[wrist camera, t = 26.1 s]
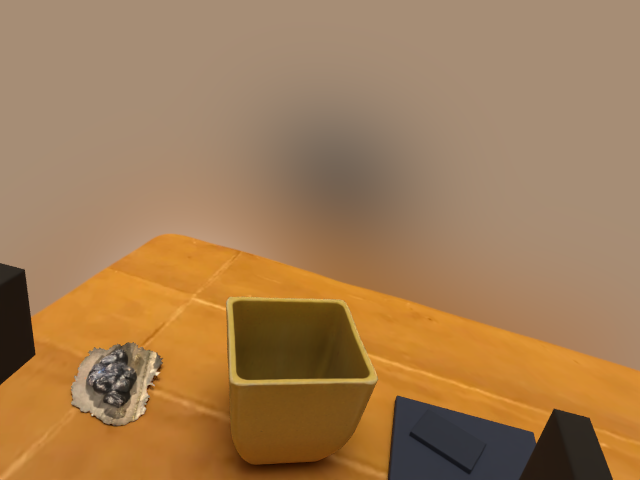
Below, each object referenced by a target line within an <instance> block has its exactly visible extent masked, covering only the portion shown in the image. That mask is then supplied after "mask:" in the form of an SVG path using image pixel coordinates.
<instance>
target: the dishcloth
mask: <svg viewBox="0 0 640 480" xmlns="http://www.w3.org/2000/svg"><path fill="white" fill-rule="evenodd" d="M535 446H536V441H535V437H534V433H533V432H530V431H526V430H522V429H519V428H515V427H511V426H508V425H504V424H500V423H497V422H493V421H489V420H486V419H482V418H478V417H474V416H471V415H467V414H463V413H460V412H456V411H452V410H449V409H445V408H441V407H438V406H434V405H430V404H427V403H423V402H419V401H415V400H412V399H408V398H404V397H401V396H397V397H396V400H395V408H394V419H393V430H392V441H391V452H390V463H389V474H388V480H519V478H520V476H521V474H522V472H523V470H524V468H525V466H526V464H527V462H528V460H529V458H530V456H531V454H532V452H533V450H534V448H535Z"/></svg>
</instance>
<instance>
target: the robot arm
mask: <svg viewBox="0 0 640 480" xmlns="http://www.w3.org/2000/svg"><path fill="white" fill-rule="evenodd" d="M34 355H35V347H34V339H33V331H32V323H31V315H30V307H29V300H28V292H27V284H26V277H25V270H24V269H20V268H17V267H13V266H9V265H5V264H1V263H0V385H1V384H2V383H3V382H4V381H5V380H6V379H8V378H9V377H10V376H11V375H12V374H13V373H15V372H16V371H17V370H18V369H19V368H20V367H22V366H23V365H24V364H25V363H26V362H27V361H29V360H30V359H31V358H32V357H33V356H34ZM519 480H613V478H612V476H611V473H610V470H609V468H608V465H607V463H606V460H605V457H604V455H603V452H602V450H601V447H600V444H599V442H598V439H597V436H596V434H595V431H594V429H593V426H592V423H591V421H590V418H587V417H584V416H580V415H576V414H572V413H568V412H565V411H561V410H557V409H554V410H553V412H552V414H551V416H550V418H549V420H548V422H547V424H546V426H545V428H544V430H543V432H542V434H541V436H540V438H539V440H538V442H537V444H536V446H535V448H534V450H533V452H532V454H531V456H530V458H529V460H528V462H527V464H526V466H525V468H524V470H523V472H522V474H521V476H520V478H519Z"/></svg>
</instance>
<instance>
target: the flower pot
mask: <svg viewBox="0 0 640 480" xmlns="http://www.w3.org/2000/svg"><path fill="white" fill-rule="evenodd" d="M226 311H227V353H228V368H229V396H230V428H231V436H232V440H233V444H234V446H235V448H236V450H237V452H238V453H239V455H240V456H241V457H242V458H243V459H244V460H245V461H247V462H248V463H250V464H253V465H259V464H275V463H293V462H315V461H319V460H321V459H323V458H326V457H328V456H330V455H331V454H333V453H335V452H336V451H337V450H339V449H340V448H341V447H342V446H343V445H345V443H346V442H347V441H348V440H349V439H350V438H351V436H352V435H353V433H354V431H355V429H356V427H357V425H358V423H359V421H360V419H361V417H362V414H363V412H364V410H365V408H366V405H367V403H368V401H369V399H370V396H371V394H372V392H373V389H374V387H375V385H376V383H377V381H378V377H377V374H376V372H375V369H374V367H373V365H372V363H371V360H370V358H369V356H368V354H367V352H366V350H365V347H364V345H363V343H362V341H361V339H360V336H359V334H358V331H357V328H356V326H355V323H354V320H353V318H352V315H351V312H350V309H349V307H348V306H347V304H346V303H345V301H343V300H336V299H294V298H259V297H229V298H228V300H227V302H226Z"/></svg>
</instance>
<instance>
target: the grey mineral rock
mask: <svg viewBox="0 0 640 480" xmlns="http://www.w3.org/2000/svg"><path fill="white" fill-rule="evenodd" d="M88 353H89V354H90V355H89V356H87V357H85V359H84V360H83V362H82V363H81V364H80V367H78V370H79V372H78V376H74V377H75V380H76V382H73V385H72V386H71V388H72V389H71V391H72V394H73V395H72V397H73V401H72V402H71V403H72V405H73V404H74V405H76V407H79V408H81V409H80V411H84V412H85V413H86V412H87V411H90V413H92V414H91V416H93V415H95V416H96V417H97V418H99V419H101V420H103V423H107V424H113V426H114V425H115V426H116V425H118V426H120V425H122V424H123V425H124V424H125V425H126V423H128V422H130V421H135V420H137V419H138V417H139V416H140V415H142V414H144V411H145V410H146V408H145V407H144V404H145V405H146V404H147V403H146V402H147V400H148V398H149V397H150V396H149V395H148V393H147V392H146V391H147V390H146V389H147V385H149V384H150V385H153V383H150V382H151V379H152V378H153V377H154V376H153V375H156V376H157V375H158V374H159V373H160V372H156V370H157V369H158V368H159V367H160V364H162V363H163V362H162V361H161V360H162V359H163V358H160V357H161V356H159V355H158V354H157V353H155V352H153V351H150V350H144V348H143V347H140V348H138V345H136V343H134V342H133V343H126V344H125V345H123V346H120V345H118V344H117V345H114V346H112V347H111V348H109V350H104V349H101V348H99V349H96V348H95V347H94V348H93V351H89V352H88ZM85 378H86V379H85ZM154 386H155V385H154Z"/></svg>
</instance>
